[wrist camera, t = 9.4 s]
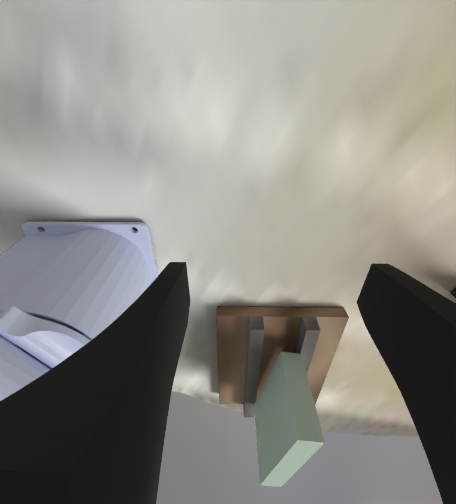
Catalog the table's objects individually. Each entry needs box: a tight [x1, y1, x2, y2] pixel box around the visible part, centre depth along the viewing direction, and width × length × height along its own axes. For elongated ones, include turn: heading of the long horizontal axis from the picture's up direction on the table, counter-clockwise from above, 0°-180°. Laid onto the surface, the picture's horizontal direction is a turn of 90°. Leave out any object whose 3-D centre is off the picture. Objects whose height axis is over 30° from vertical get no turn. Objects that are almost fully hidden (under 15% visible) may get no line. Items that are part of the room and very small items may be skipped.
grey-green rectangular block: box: [254, 352, 325, 487], centre depth 23 cm, size 2×10×7 cm, turn 169°
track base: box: [217, 306, 349, 417], centre depth 27 cm, size 12×16×3 cm
